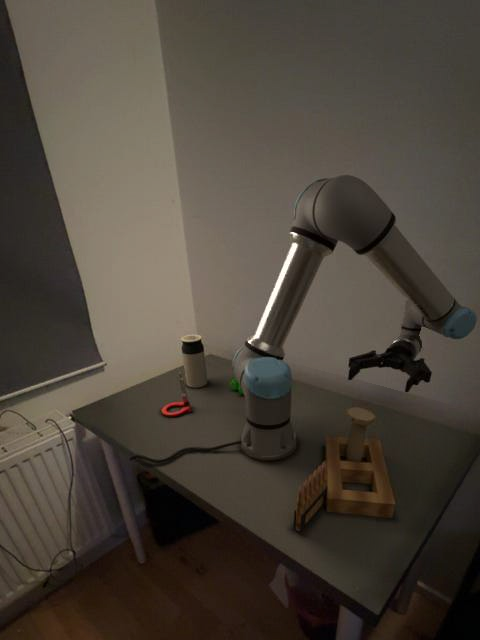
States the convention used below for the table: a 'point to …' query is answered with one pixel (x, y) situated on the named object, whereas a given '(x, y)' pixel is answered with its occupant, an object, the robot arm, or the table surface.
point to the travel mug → (194, 361)
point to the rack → (358, 480)
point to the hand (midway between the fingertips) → (377, 380)
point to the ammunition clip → (311, 498)
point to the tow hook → (184, 403)
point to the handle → (357, 432)
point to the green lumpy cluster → (236, 386)
